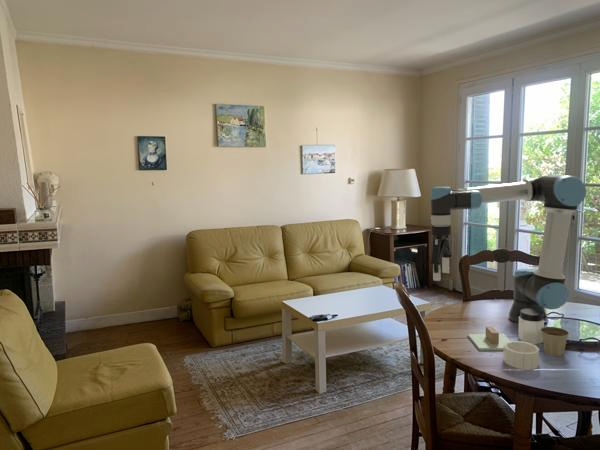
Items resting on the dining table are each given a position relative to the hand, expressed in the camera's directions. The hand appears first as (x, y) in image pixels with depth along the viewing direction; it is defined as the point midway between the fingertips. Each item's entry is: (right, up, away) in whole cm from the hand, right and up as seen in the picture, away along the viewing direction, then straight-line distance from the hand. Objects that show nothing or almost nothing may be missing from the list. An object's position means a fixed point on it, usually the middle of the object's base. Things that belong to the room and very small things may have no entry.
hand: (441, 276), depth 181 cm
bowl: (+20, -28, -25) cm, 42 cm away
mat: (+17, -26, -8) cm, 32 cm away
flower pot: (+36, -27, -18) cm, 48 cm away
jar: (+34, -25, -6) cm, 42 cm away
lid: (+17, -25, -8) cm, 31 cm away
